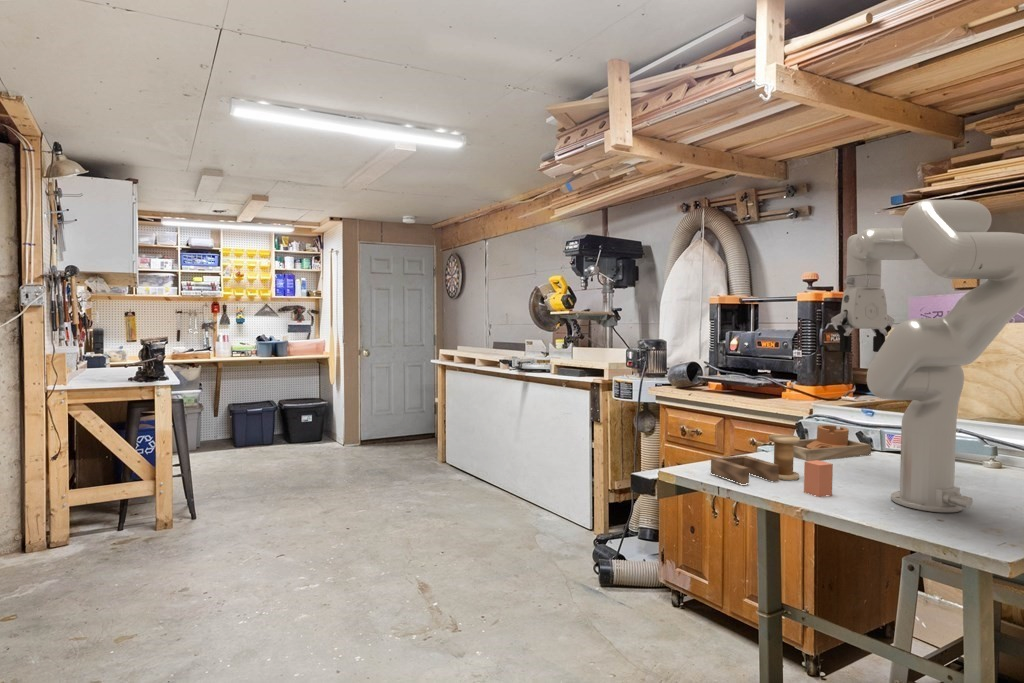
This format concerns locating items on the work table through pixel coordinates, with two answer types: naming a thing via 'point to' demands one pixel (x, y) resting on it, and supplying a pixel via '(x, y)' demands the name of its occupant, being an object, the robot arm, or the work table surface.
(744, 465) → the notched board
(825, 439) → the bracket
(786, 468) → the spool
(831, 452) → the frame
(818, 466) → the tab
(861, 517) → the work table surface
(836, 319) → the robot arm
